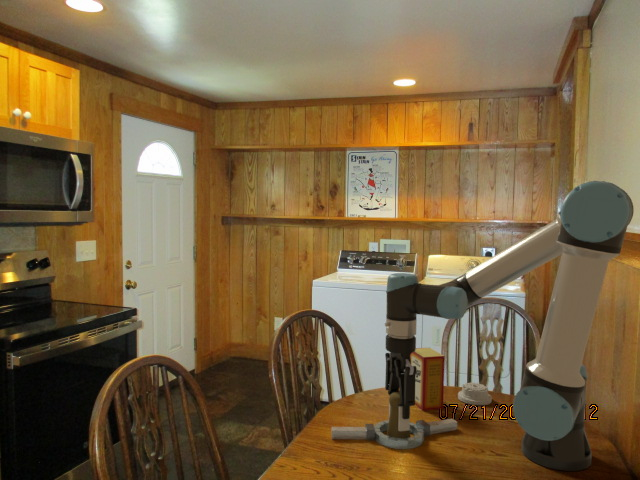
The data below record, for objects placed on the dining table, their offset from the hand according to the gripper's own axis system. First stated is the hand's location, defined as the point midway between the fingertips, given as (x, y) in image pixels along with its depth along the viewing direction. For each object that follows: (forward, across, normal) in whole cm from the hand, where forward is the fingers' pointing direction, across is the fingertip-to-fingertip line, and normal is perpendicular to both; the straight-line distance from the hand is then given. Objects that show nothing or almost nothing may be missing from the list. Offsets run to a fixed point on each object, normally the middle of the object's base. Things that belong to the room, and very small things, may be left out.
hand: (398, 425), depth 130 cm
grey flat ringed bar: (+3, 0, 0) cm, 3 cm away
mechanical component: (+4, -19, +34) cm, 39 cm away
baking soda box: (+3, -19, +18) cm, 26 cm away
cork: (+3, 0, 0) cm, 3 cm away
